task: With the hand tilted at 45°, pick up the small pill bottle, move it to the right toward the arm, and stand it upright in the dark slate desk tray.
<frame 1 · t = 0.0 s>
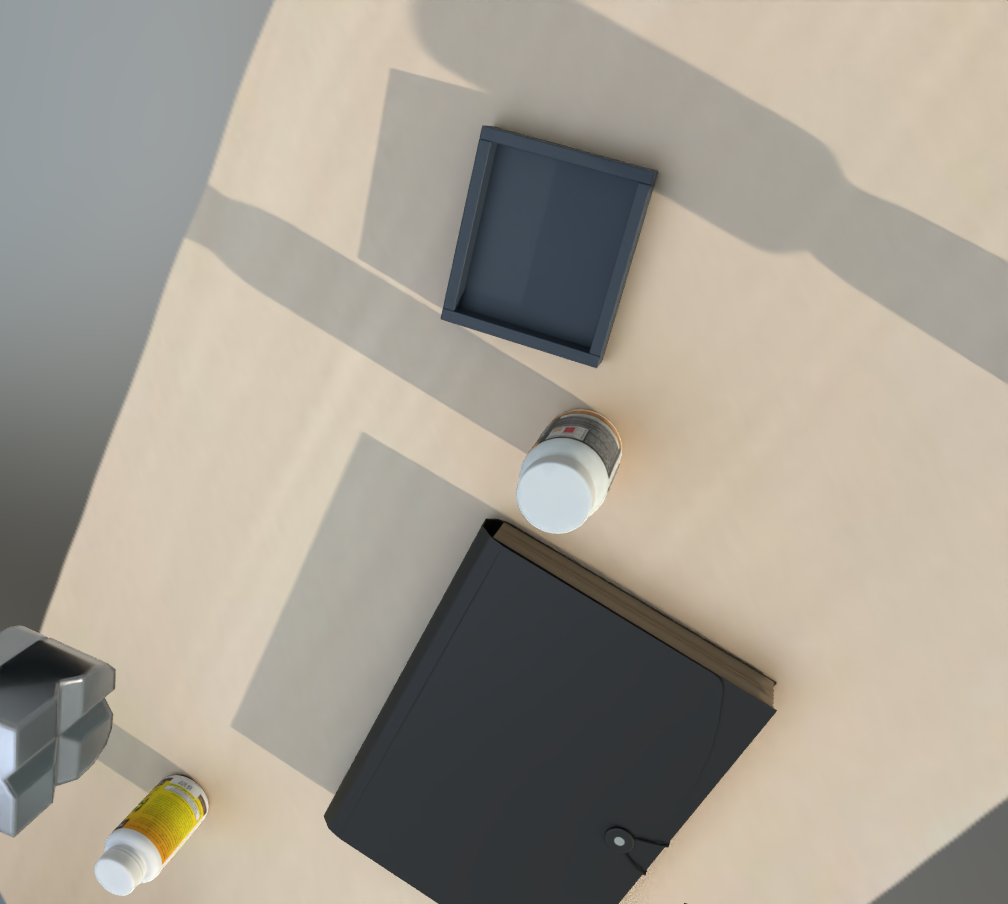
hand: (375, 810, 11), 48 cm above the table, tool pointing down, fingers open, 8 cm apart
supplement bottle: (187, 794, 83), on the table
pill bottle: (584, 445, 60), on the table
tray: (548, 246, 56), on the table
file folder: (533, 744, 70), on the table
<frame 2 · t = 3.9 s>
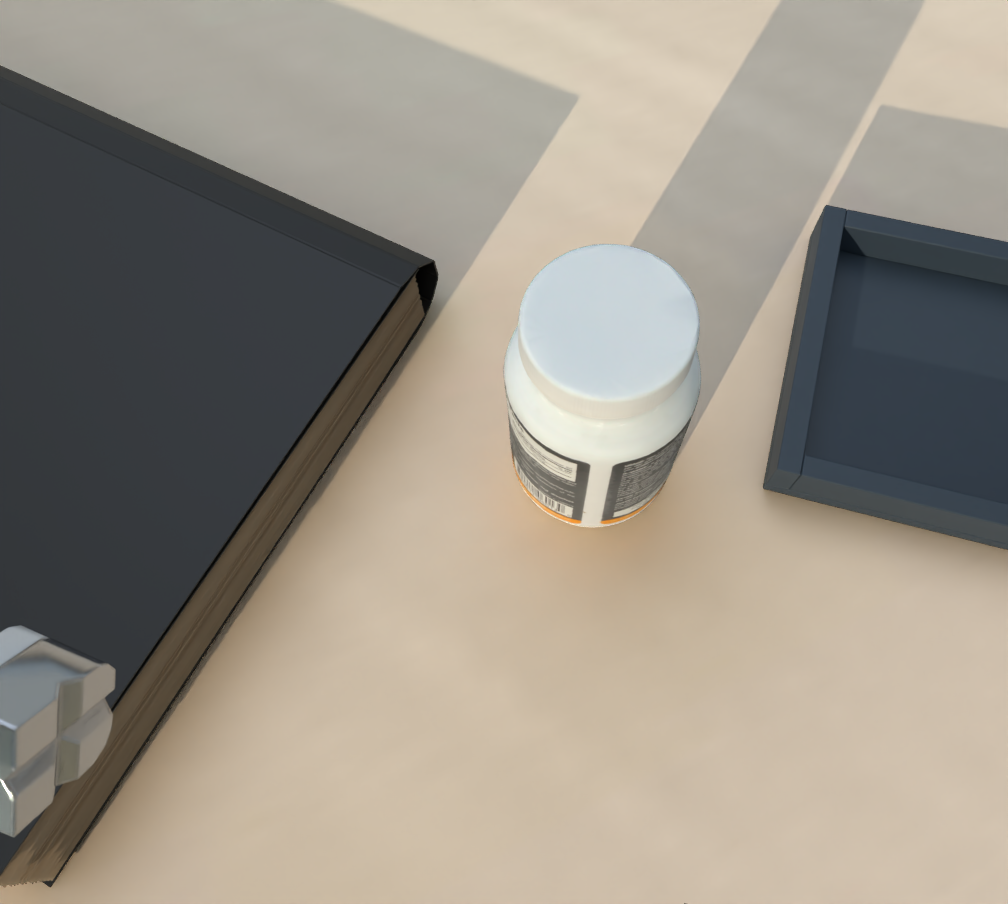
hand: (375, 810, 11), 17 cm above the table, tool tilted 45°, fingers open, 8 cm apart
pill bottle: (589, 459, 31), on the table
tray: (959, 394, 32), on the table
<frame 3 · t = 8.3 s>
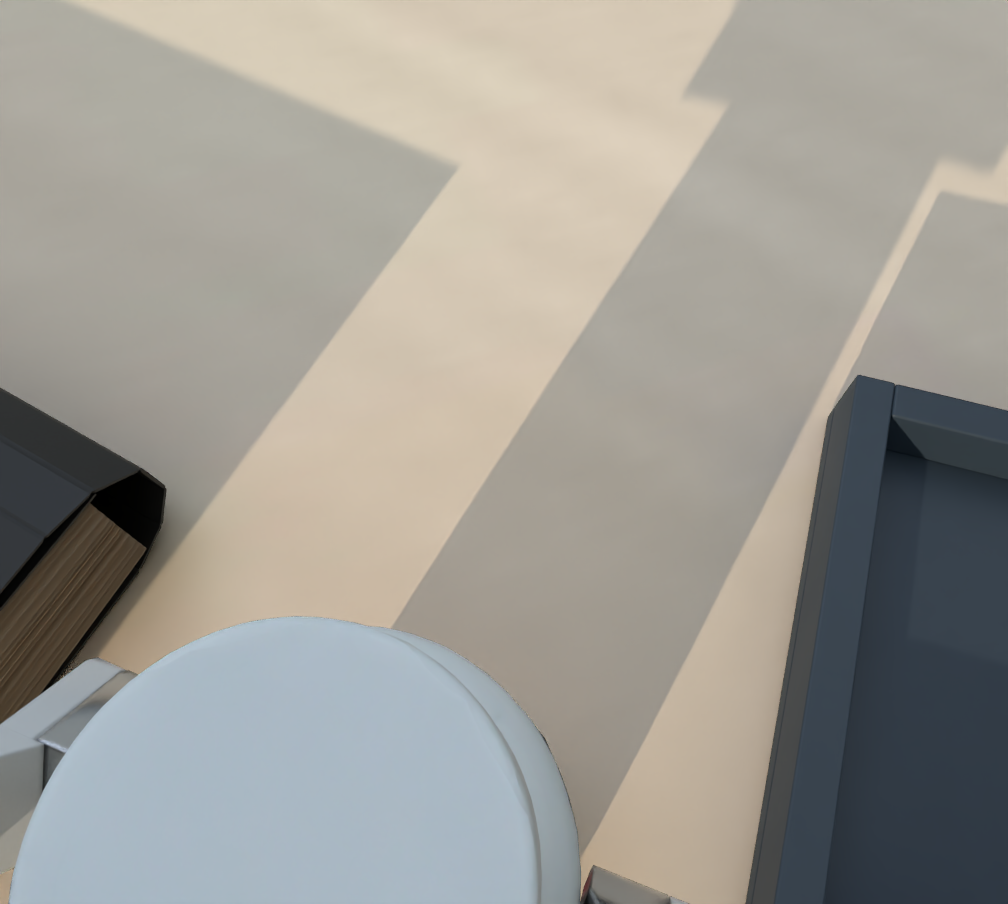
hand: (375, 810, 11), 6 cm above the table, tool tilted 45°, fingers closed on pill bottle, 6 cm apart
pill bottle: (414, 852, 17), on the table, touching gripper
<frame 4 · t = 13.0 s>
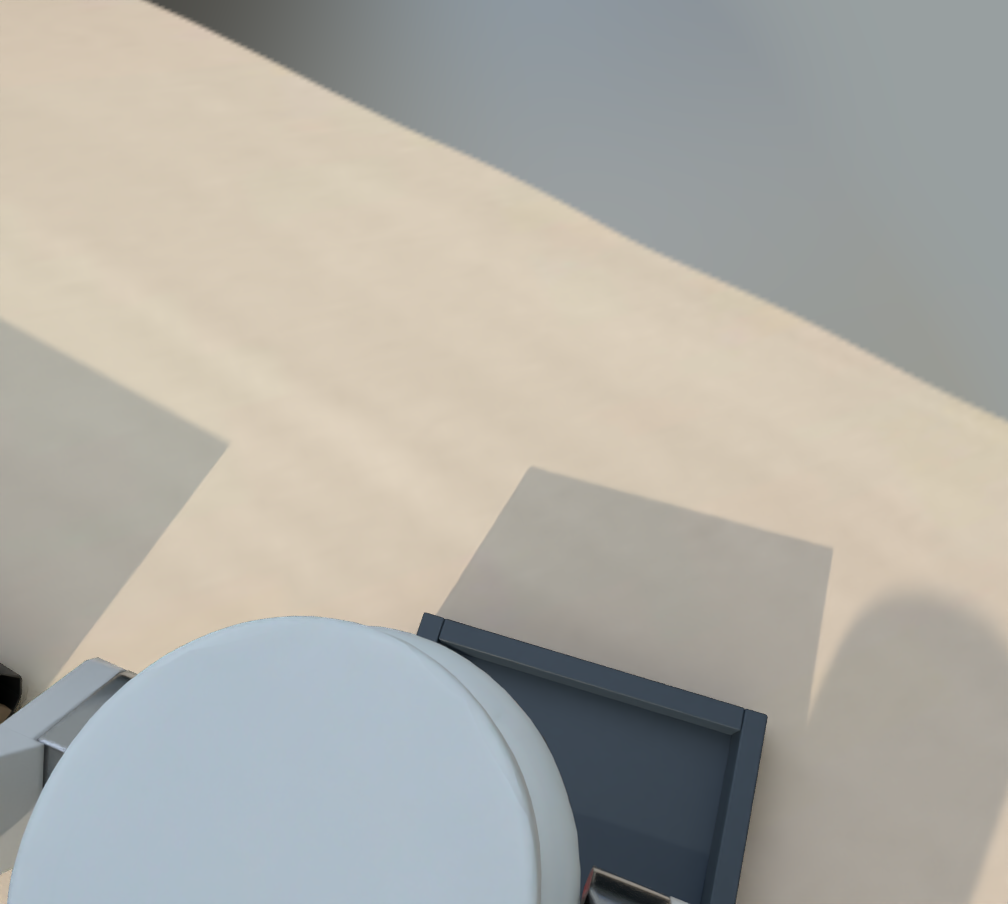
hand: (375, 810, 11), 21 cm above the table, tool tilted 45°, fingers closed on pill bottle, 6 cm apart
pill bottle: (414, 852, 17), point 15 cm above the table, touching gripper
tray: (547, 825, 30), on the table
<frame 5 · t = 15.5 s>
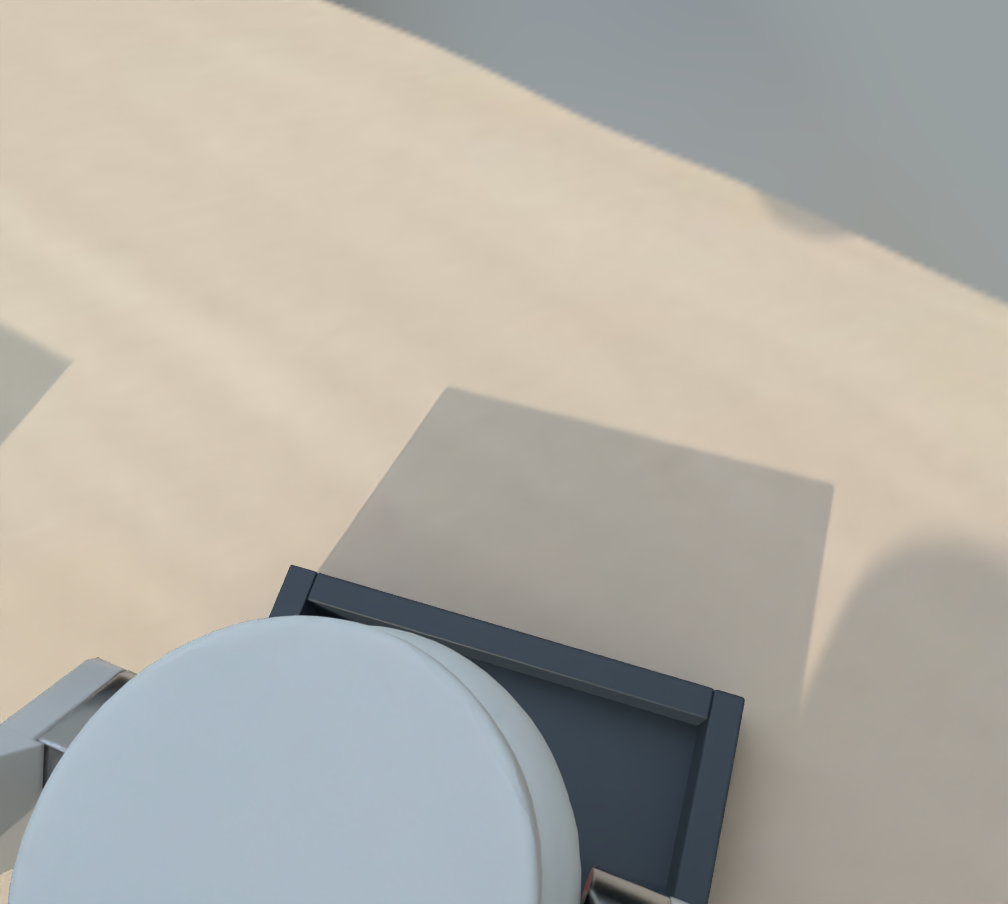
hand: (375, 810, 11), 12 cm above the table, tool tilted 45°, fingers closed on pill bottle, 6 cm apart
pill bottle: (415, 852, 17), point 6 cm above the table, touching gripper
tray: (450, 847, 22), on the table
when the fingers open (6 cm above the table, at t = 17.7 s): pill bottle stays where it is, resting on tray.
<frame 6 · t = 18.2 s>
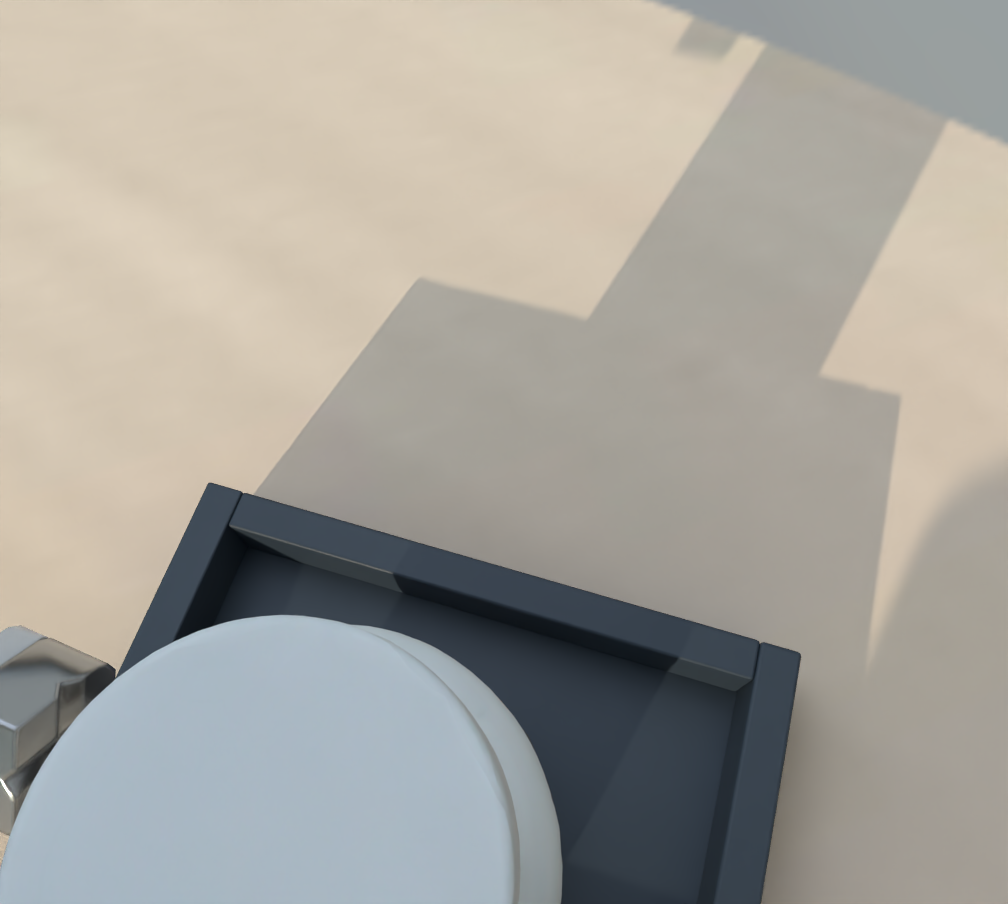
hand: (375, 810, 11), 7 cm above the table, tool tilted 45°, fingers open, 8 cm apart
pill bottle: (404, 849, 17), resting on tray
tray: (411, 849, 17), on the table
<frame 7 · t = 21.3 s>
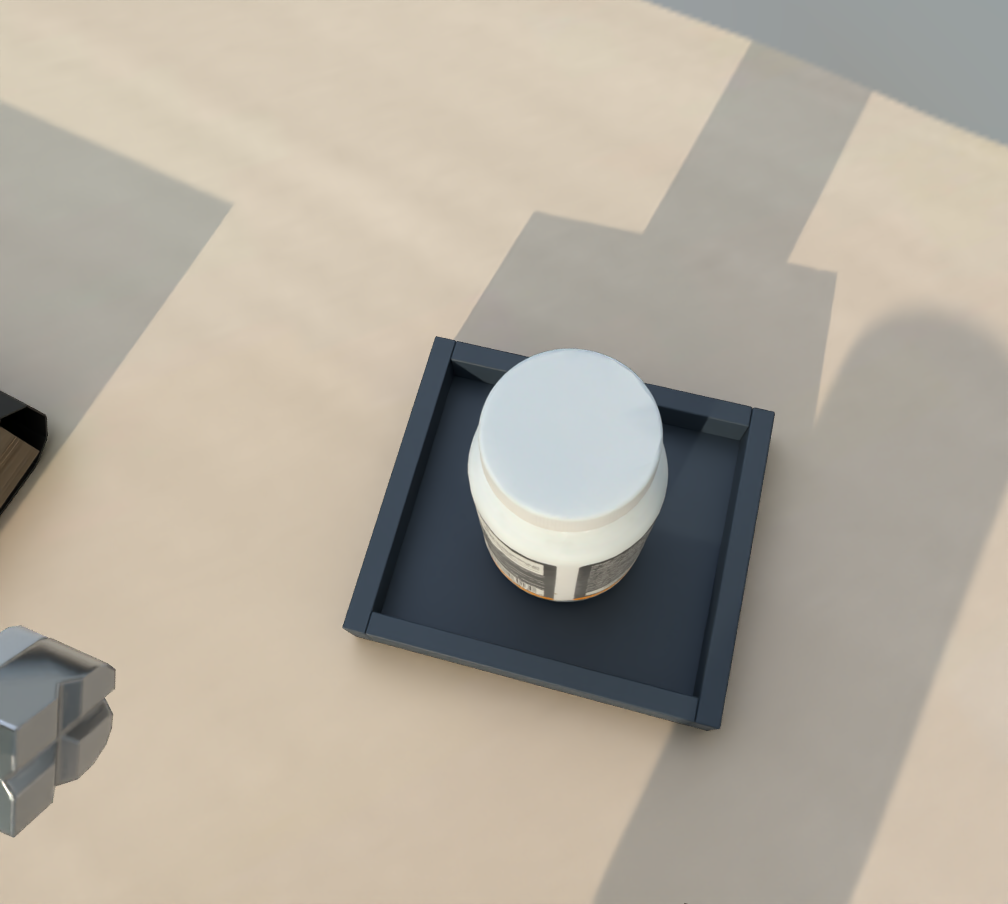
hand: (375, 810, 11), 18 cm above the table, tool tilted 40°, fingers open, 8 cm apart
pill bottle: (561, 528, 31), resting on tray
tray: (564, 530, 31), on the table
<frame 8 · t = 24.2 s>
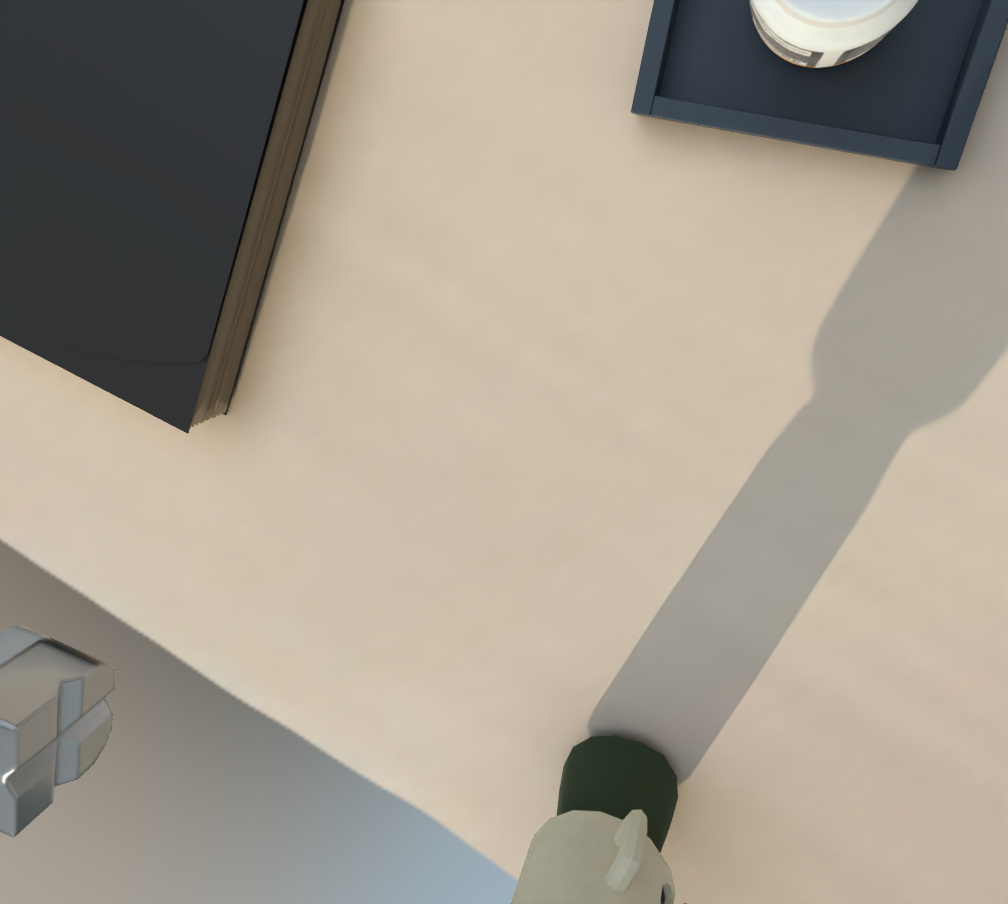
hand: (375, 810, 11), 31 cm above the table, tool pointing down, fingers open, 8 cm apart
character mug: (622, 771, 48), on the table
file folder: (13, 76, 44), on the table
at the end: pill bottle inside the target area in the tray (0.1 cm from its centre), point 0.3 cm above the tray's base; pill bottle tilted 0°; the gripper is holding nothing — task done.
